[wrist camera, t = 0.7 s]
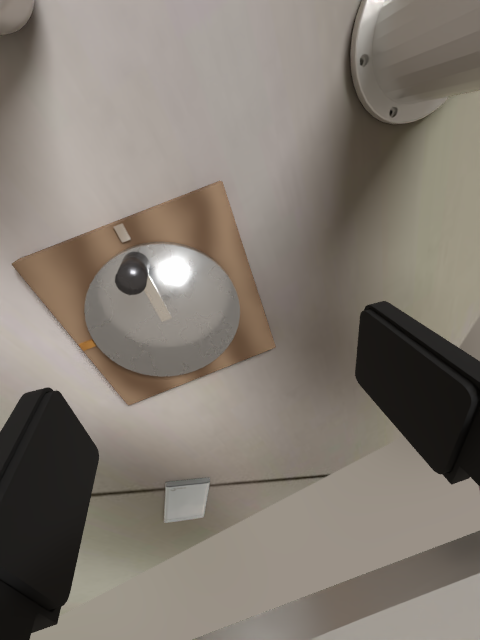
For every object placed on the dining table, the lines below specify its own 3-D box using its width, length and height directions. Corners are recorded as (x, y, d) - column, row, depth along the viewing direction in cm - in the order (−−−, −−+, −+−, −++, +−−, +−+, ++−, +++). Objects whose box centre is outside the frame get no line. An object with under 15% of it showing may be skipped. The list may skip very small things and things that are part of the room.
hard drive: (165, 487, 51) (163, 524, 57) (210, 482, 54) (204, 518, 59) (165, 478, 53) (164, 515, 59) (209, 474, 55) (203, 510, 61)
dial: (254, 341, 38) (266, 368, 33) (135, 388, 38) (130, 422, 33) (208, 216, 29) (215, 229, 24) (51, 277, 29) (27, 303, 24)
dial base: (220, 180, 29) (222, 182, 28) (272, 341, 41) (276, 348, 39) (18, 259, 29) (10, 265, 27) (129, 397, 41) (128, 407, 39)
